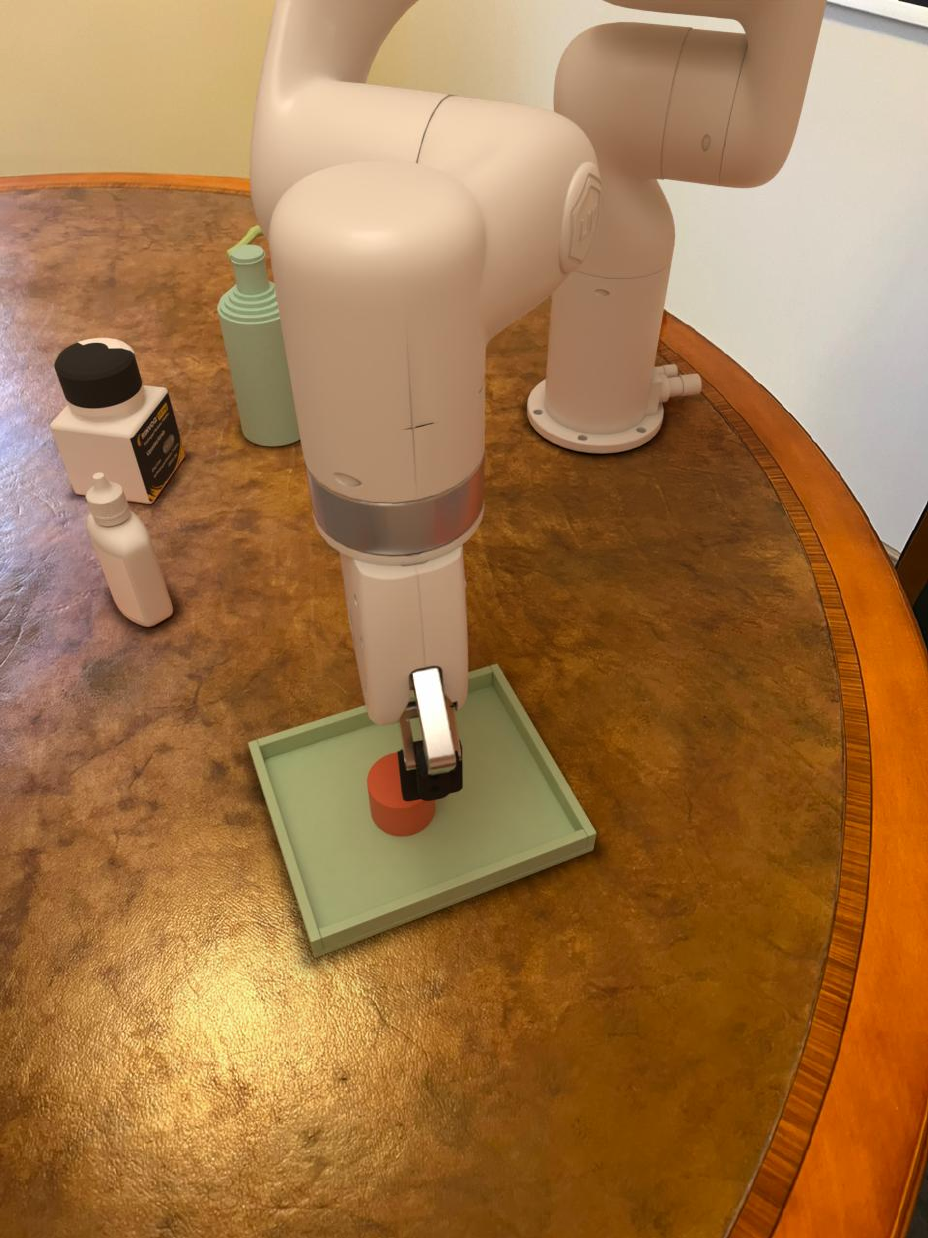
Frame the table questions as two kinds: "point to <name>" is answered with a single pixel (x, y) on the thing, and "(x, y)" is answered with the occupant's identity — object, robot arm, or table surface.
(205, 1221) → the table surface
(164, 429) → the medicine bottle
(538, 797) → the tray
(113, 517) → the eye dropper bottle
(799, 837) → the table surface
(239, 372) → the bottle
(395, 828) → the cap
